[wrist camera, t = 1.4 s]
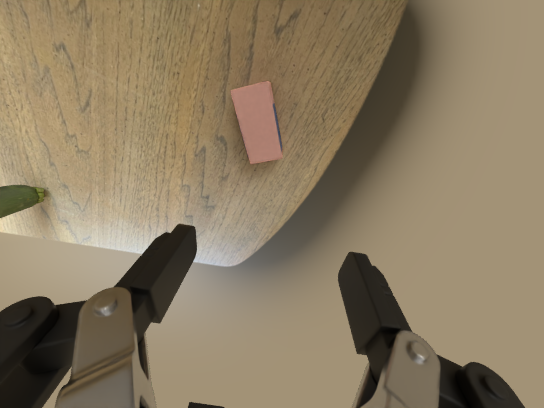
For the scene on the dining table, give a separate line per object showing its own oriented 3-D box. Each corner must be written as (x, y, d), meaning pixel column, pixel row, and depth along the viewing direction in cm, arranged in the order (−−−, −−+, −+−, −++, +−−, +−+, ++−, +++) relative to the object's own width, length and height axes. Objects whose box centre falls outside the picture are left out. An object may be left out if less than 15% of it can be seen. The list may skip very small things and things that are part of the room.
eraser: (271, 81, 19) (268, 80, 17) (283, 150, 23) (283, 158, 20) (236, 89, 20) (229, 90, 17) (253, 155, 23) (249, 164, 21)
